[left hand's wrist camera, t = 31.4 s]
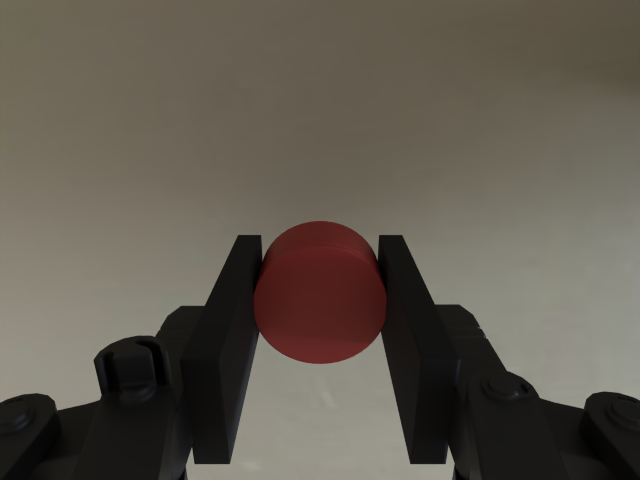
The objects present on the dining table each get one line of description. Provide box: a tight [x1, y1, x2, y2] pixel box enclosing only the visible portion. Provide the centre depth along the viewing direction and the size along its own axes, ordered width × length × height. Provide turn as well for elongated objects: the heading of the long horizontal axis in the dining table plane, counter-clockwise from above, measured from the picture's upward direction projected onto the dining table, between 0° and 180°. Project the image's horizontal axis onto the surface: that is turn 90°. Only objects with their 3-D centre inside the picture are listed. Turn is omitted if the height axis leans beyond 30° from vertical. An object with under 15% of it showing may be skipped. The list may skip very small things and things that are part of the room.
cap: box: [253, 221, 387, 364], centre depth 14 cm, size 4×4×2 cm
